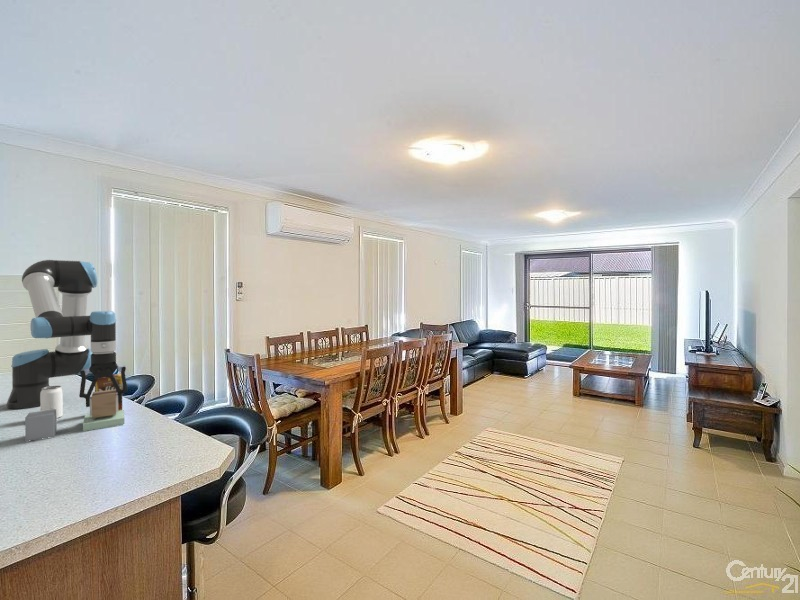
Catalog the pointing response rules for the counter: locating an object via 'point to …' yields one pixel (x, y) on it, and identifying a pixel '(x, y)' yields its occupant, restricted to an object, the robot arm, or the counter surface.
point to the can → (52, 399)
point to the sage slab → (103, 421)
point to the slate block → (40, 424)
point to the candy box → (109, 385)
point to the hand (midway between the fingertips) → (104, 413)
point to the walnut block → (103, 403)
